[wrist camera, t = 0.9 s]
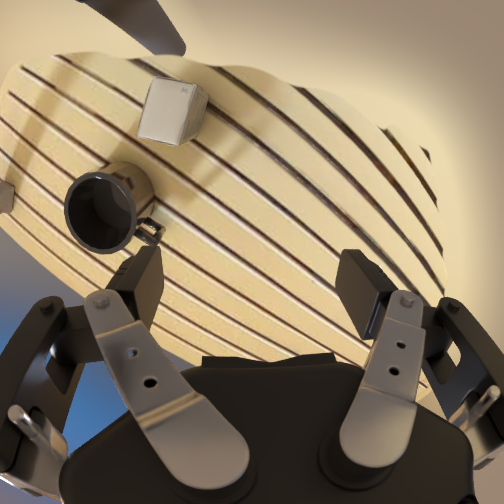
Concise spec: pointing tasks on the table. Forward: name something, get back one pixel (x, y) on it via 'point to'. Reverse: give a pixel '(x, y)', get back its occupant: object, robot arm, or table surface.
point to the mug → (111, 208)
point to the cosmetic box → (172, 111)
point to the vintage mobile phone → (6, 197)
